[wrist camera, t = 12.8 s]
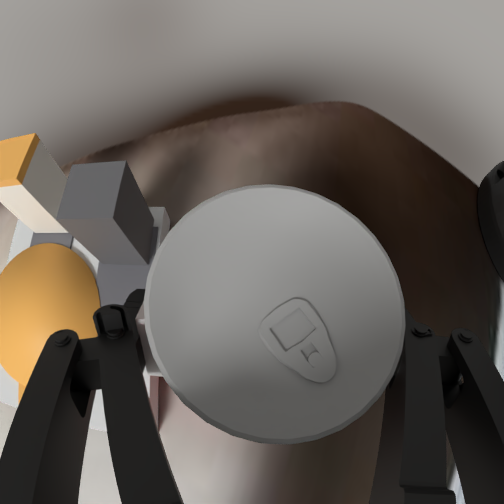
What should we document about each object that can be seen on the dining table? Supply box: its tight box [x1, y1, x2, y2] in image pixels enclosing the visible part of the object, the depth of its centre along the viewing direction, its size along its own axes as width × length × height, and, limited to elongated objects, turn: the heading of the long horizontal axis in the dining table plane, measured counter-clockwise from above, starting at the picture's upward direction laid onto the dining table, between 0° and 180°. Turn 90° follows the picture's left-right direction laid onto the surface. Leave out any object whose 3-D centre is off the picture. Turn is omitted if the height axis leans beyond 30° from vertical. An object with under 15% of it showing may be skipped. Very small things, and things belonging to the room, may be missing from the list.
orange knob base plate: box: [0, 161, 170, 432], centre depth 15 cm, size 13×14×8 cm
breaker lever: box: [0, 133, 69, 233], centre depth 16 cm, size 3×3×7 cm
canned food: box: [144, 184, 406, 444], centre depth 14 cm, size 8×8×11 cm
